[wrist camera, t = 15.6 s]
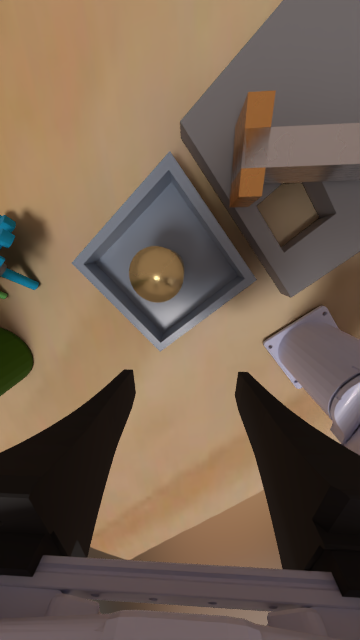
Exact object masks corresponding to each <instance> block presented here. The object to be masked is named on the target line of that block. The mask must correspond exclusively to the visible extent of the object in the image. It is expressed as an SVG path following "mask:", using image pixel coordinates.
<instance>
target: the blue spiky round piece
mask: <svg viewBox="0 0 360 640" xmlns="http://www.w3.org/2000/svg"><path fill="white" fill-rule="evenodd" d="M15 226H16V222H15V221H13V220H12V219H10V218H9V217H7V216H6V215H3V216H1V215H0V249H1V248H2V247H3V246H4V247H6V248H9V247H10V246H11V244H12V243H13V241H14V238H15V235H13V234H11V232H12V231H13V230H14V229H15ZM4 261H5V258H4V257H2V256H0V277H4V278H6V279H9V280H11V281H14V282H16V283H18V284H21V285H23V286H26V287H28V288H31V289H33V290H35V289H36V288H37V287H38V285H39V282H37V281H34V280H32V279H30V278H28V277H26V276H23V275H21V274H19V273H17V272H15V271H12V270H10V269H8V268H6V267H7V265H6V264H4V263H3V262H4ZM6 297H7V294H6V293H4V292H1V291H0V298H2V299H5V298H6Z"/></svg>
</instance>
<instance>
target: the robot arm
mask: <svg viewBox="0 0 360 640" xmlns="http://www.w3.org/2000/svg"><path fill="white" fill-rule="evenodd" d="M323 312H325V313H324V314H323ZM322 314H323V315H322ZM263 345H264V346H265V348H266V349H267V350H268V351H269V353H270V354H271V355H272V357H273V358H274V359H275V361H276V362H277V363H278V365H279V366H280V367H281V369H282V370H283V371H284V373H285V374H286V375H287V377H288V378H289V379H290V380H291V382H292V383H293V384H294V386H295V387H296V388H298V389H300V388H302V387H303V388H304V389H305V390H306V391H307V393H308V394H309V395H310V396H311V397H312V398H313V399H314V401H315V402H316V403H317V404H318V405H319V406H320V407H321V408H322V410H323V411H324V412H325V413H326V414H327V415H328V416H329V418H330V419H331V420H332V421H333V424H332V427H331V428H330V430H331V431H332V433H333V434H334V435H335V436H336V437H337V439H338V440H339V441H340V442H341V444H339V443H338V442H336V441H334V440H333V439H331V438H330V437H328V436H326V435H325V434H323V433H322V432H320V431H319V430H317V429H316V428H314V427H313V426H311V425H310V424H308V423H307V422H305V421H304V420H303V419H301V418H300V417H299V416H297V415H296V414H295V413H293V412H292V411H291V410H289V409H288V408H287V407H286V406H284V405H283V404H282V403H281V402H280V401H278V400H277V399H276V398H275V397H274V396H273V395H272V394H270V393H269V392H268V391H267V390H266V389H265V388H264V387H263V386H262V385H261V384H260V383H259V382H258V381H256V380H255V379H254V378H253V377H252V376H251V375H250V374H249V373H248V372H238V378H237V385H236V391H235V398H236V402H237V406H238V410H239V413H240V416H241V419H242V421H243V424H244V427H245V430H246V432H247V435H248V438H249V440H250V443H251V446H252V449H253V452H254V455H255V458H256V461H257V465H258V469H259V472H260V476H261V480H262V483H263V487H264V491H265V495H266V499H267V503H268V507H269V511H270V515H271V519H272V523H273V528H274V532H275V536H276V541H277V545H278V550H279V554H280V559H281V564H282V568H283V569H268V568H252V567H235V566H218V565H201V564H183V563H168V562H167V563H166V562H151V561H134V560H117V559H100V558H87V556H88V552H89V548H90V544H91V540H92V536H93V531H94V527H95V523H96V519H97V515H98V511H99V508H100V504H101V500H102V496H103V492H104V489H105V485H106V481H107V478H108V474H109V471H110V467H111V464H112V461H113V457H114V454H115V451H116V448H117V445H118V442H119V440H120V437H121V434H122V432H123V429H124V427H125V424H126V422H127V419H128V417H129V414H130V411H131V409H132V406H133V402H134V398H135V394H136V391H135V383H134V375H133V370H123V371H122V372H121V373H120V374H119V375H118V376H117V377H115V378H114V379H113V380H112V381H111V382H110V383H109V384H108V385H107V386H105V387H104V388H103V389H102V390H101V391H100V392H99V393H97V394H96V395H95V396H94V397H92V398H91V399H90V400H89V401H87V402H86V403H85V404H83V405H82V406H81V407H79V408H78V409H77V410H75V411H74V412H72V413H71V414H69V415H68V416H66V417H65V418H63V419H62V420H60V421H58V422H57V423H55V424H54V425H52V426H50V427H49V428H47V429H45V430H43V431H42V432H40V433H38V434H36V435H35V436H33V437H31V438H29V439H27V440H25V441H23V442H21V443H19V444H18V445H15V446H13V447H11V448H9V449H7V450H5V451H3V452H1V453H0V640H360V339H358V338H356V337H354V336H352V335H350V334H348V333H346V332H344V331H341V330H339V328H338V326H337V325H336V323H335V321H334V319H333V318H332V316H331V314H330V312H329V311H328V309H327V307H325V306H319V307H317V308H316V309H314V310H312V311H311V312H309V313H308V314H306V315H304V316H303V317H301V318H300V319H298V320H296V321H295V322H293V323H292V324H290V325H288V326H287V327H285V328H284V329H282V330H280V331H279V332H277V333H276V334H274V335H273V336H271V337H269V338H268V339H266V340H265V341H264V342H263ZM269 345H271V346H270V347H268V346H269ZM295 380H296V381H295ZM87 599H95V600H110V601H124V602H140V603H154V604H169V605H184V606H198V607H213V608H227V609H243V610H257V611H272V612H269V613H268V616H267V620H268V624H267V626H264V625H259V624H255V623H252V622H250V621H248V620H245V619H242V618H235V617H229V616H218V615H203V614H189V613H174V612H160V611H159V612H158V611H145V610H121V611H118V612H115V613H112V614H101V613H100V612H99V608H100V607H99V603H98V602H95V601H91V600H87Z"/></svg>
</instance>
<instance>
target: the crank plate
mask: <svg viewBox="0 0 360 640" xmlns="http://www.w3.org/2000/svg"><path fill="white" fill-rule="evenodd" d="M275 90H276V93H275V100H274V108H273V116H272V123H271V127H282V126H302V125H323V124H344V123H360V0H283V1H282V2H281V3H280V5H279V6H278V7H277V8H276V9H275V11H274V12H273V13H272V14H271V15H270V16H269V18H268V19H267V20H266V21H265V22H264V23H263V25H262V26H261V27H260V28H259V29H258V31H257V32H256V33H255V34H254V35H253V36H252V38H251V39H250V40H249V41H248V42H247V43H246V45H245V46H244V47H243V48H242V49H241V50H240V52H239V53H238V54H237V55H236V56H235V58H234V59H233V60H232V61H231V62H230V63H229V65H228V66H227V67H226V68H225V69H224V70H223V72H222V73H221V74H220V75H219V76H218V78H217V79H216V80H215V81H214V82H213V83H212V85H211V86H210V87H209V88H208V89H207V90H206V92H205V93H204V94H203V95H202V96H201V97H200V99H199V100H198V101H197V102H196V103H195V105H194V106H193V107H192V108H191V109H190V110H189V112H188V113H187V114H186V115H185V116H184V117H183V119H182V120H181V121H180V129H181V139H182V141H183V142H184V144H185V145H186V147H187V148H188V150H189V152H190V153H191V155H192V156H193V158H194V159H195V161H196V162H197V164H198V165H199V167H200V169H201V170H202V172H203V173H204V175H205V176H206V178H207V179H208V181H209V183H210V184H211V186H212V187H213V189H214V190H215V192H216V193H217V195H218V196H219V198H220V200H221V201H222V203H223V204H224V206H225V207H226V209H227V210H228V212H229V214H230V215H231V217H232V218H233V220H234V221H235V223H236V224H237V226H238V227H239V229H240V231H241V232H242V234H243V235H244V237H245V238H246V240H247V241H248V243H249V244H250V246H251V248H252V249H253V251H254V252H255V254H256V255H257V257H258V258H259V260H260V262H261V263H262V265H263V266H264V268H265V269H266V271H267V272H268V274H269V275H270V277H271V279H272V280H273V282H274V283H275V285H276V286H277V288H278V289H279V291H280V293H281V294H284V295H286V296H289V297H293V296H294V295H296V294H297V293H299V292H300V291H302V290H303V289H305V288H306V287H308V286H309V285H311V284H312V283H314V282H315V281H317V280H318V279H320V278H321V277H322V276H324V275H325V274H327V273H328V272H330V271H331V270H333V269H334V268H336V267H337V266H339V265H340V264H342V263H343V262H345V261H346V260H348V259H349V258H351V257H352V256H354V255H355V254H357V253H358V252H360V180H352V181H323V182H302V183H303V185H304V187H305V189H306V191H307V193H308V195H309V198H310V200H311V202H312V204H313V206H314V208H315V210H316V212H317V214H318V216H319V219H318V220H316V221H315V222H314V223H312V224H311V225H310V226H309V227H307V228H306V229H305V230H303V231H302V232H301V233H299V234H298V235H297V236H295V237H294V238H293V239H292V240H290V241H289V242H288V243H286V244H285V245H284V246H282V247H280V245H279V244H278V242H277V240H276V239H275V237H274V235H273V234H272V232H271V230H270V229H269V227H268V225H267V223H266V222H265V220H264V218H263V217H262V215H261V213H260V212H259V210H258V208H257V207H256V206H257V205H258V204H259V203H260V202H261V201H263V200H264V199H265V198H266V197H267V196H268V195H270V194H271V193H272V192H273V191H274V190H275V189H276V188H278V187H279V186H280V185H281V184H282V183H266V184H263V191H262V196H261V197H260V198H259V199H258V200H256V201H255V202H254V203H252V204H251V205H250V206H249V207H229V204H230V191H231V178H232V164H233V151H234V138H235V126H236V123H237V120H238V118H239V115H240V112H241V110H242V107H243V105H244V102H245V99H246V97H247V94H248V92H257V91H275Z"/></svg>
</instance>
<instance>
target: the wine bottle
mask: <svg viewBox="0 0 360 640" xmlns="http://www.w3.org/2000/svg"><path fill="white" fill-rule="evenodd" d="M32 366H33V357H32V354H31V352H30V350H29V348H28V347H27V345H26V344H25V343H24V342H23V341H22V340H21V339H20V338H19V337H18V336H16V335H15V334H13V333H12V332H10V331H8V330H5V329H3V328H0V396H1V395H2V394H4V393H5V392H6V391H8V390H9V389H10V388H12V387H13V386H14V385H16V384H17V383H18V382H20V381H21V380H22V379H24V378H25V377H26V376H27V375H28V374H29V372H30V371H31V369H32Z"/></svg>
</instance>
